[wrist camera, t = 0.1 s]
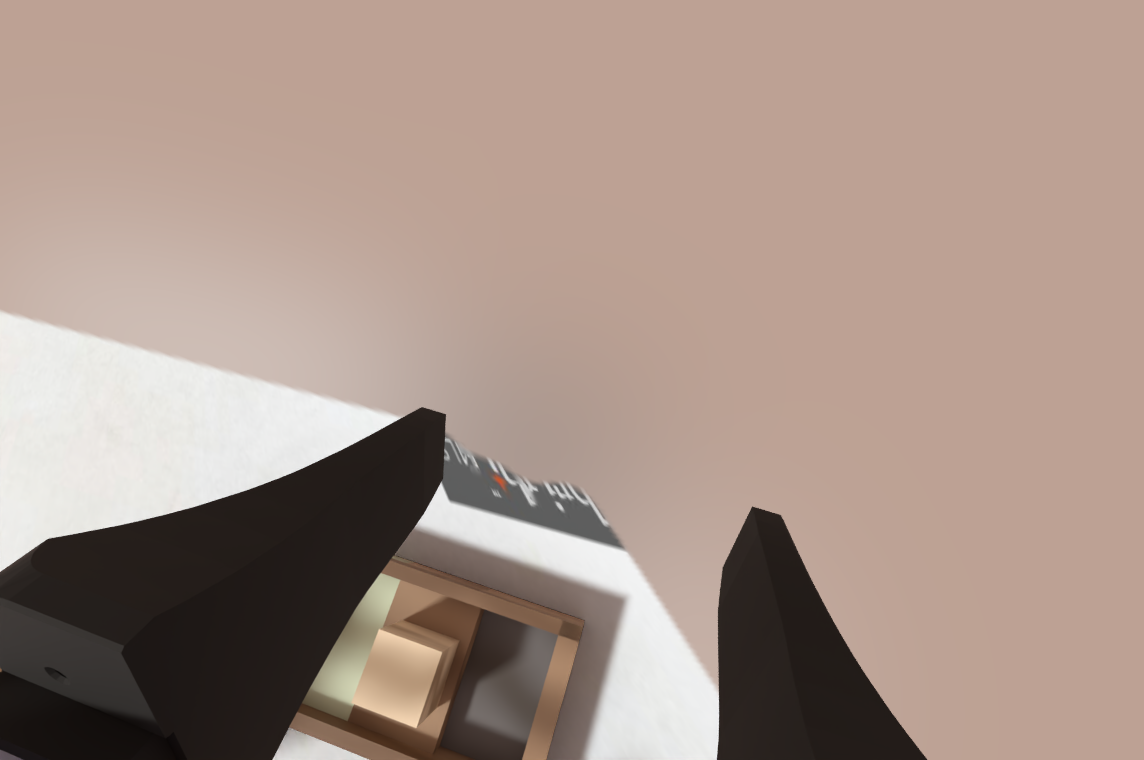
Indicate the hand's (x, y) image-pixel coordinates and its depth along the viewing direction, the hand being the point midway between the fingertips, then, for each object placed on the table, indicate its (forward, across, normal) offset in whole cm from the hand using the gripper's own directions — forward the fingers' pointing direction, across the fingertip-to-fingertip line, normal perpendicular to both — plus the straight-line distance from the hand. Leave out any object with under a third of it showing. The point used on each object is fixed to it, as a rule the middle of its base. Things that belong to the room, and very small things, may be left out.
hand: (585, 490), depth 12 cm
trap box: (+12, +12, +32) cm, 36 cm away
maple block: (+10, +9, +31) cm, 34 cm away
